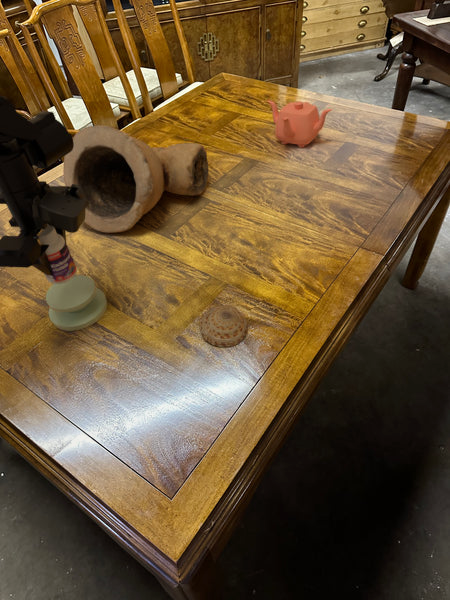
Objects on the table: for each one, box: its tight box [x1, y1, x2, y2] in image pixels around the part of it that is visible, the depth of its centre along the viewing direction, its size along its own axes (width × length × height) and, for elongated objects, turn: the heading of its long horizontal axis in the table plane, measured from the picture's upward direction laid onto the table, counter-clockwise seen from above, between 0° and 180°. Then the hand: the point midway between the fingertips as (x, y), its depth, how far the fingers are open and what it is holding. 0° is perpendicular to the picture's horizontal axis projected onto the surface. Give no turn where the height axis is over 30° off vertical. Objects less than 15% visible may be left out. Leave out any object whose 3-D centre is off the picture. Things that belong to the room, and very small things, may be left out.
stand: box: [45, 274, 108, 332], centre depth 80 cm, size 11×11×5 cm
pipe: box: [62, 124, 209, 234], centre depth 103 cm, size 23×29×30 cm
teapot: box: [267, 100, 333, 148], centre depth 121 cm, size 14×14×11 cm
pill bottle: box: [39, 224, 78, 285], centre depth 71 cm, size 5×5×10 cm
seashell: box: [199, 304, 248, 348], centre depth 74 cm, size 8×6×8 cm
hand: (57, 264), depth 73 cm, fingers closed on pill bottle, 5 cm apart
